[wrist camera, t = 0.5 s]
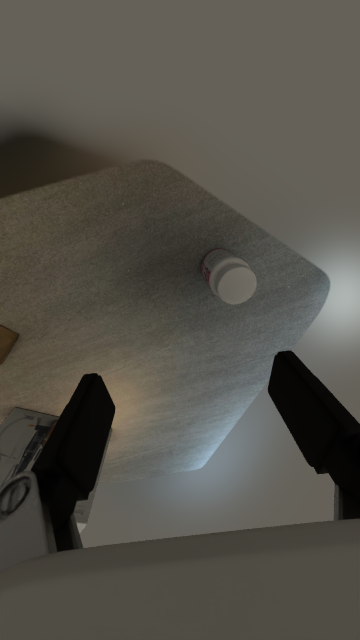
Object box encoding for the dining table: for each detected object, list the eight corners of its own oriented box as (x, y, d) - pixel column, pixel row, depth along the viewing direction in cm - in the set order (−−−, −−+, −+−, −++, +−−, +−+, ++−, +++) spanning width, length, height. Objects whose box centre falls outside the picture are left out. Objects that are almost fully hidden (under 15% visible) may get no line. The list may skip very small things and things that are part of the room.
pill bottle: (194, 262, 25) (204, 281, 18) (224, 240, 24) (249, 251, 16) (211, 289, 27) (227, 315, 20) (240, 270, 26) (268, 291, 18)
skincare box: (113, 427, 43) (88, 525, 29) (107, 438, 45) (80, 534, 32) (14, 405, 37) (-76, 514, 24) (12, 419, 40) (-72, 527, 26)
